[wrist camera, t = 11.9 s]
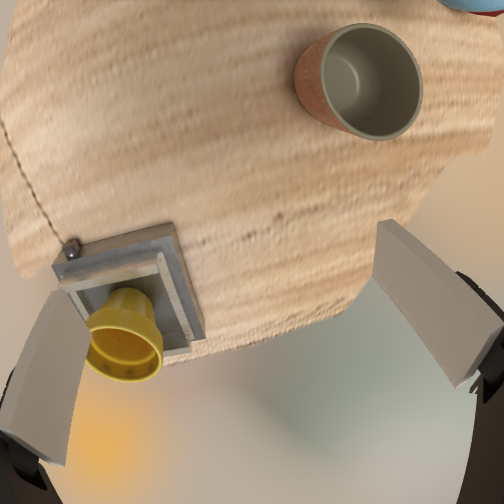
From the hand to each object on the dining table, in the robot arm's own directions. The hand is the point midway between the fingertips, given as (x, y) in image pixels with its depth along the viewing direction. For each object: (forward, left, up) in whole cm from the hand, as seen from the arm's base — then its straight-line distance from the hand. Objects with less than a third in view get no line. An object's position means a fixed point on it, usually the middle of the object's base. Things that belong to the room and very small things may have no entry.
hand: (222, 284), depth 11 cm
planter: (-7, +17, -26) cm, 32 cm away
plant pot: (+16, -15, -22) cm, 31 cm away
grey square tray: (+17, -15, -26) cm, 34 cm away
